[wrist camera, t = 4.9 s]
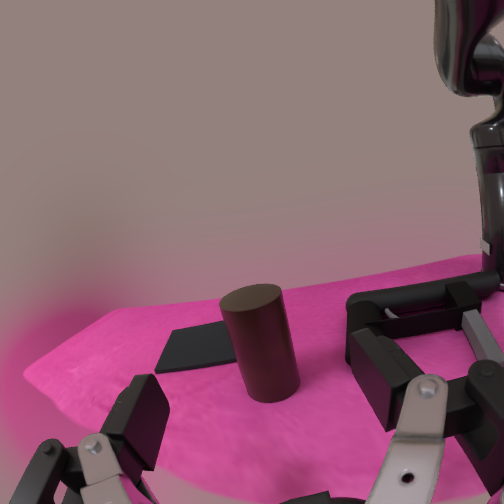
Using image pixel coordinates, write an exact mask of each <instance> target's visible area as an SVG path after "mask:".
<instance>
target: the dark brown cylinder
mask: <svg viewBox="0 0 504 504" xmlns="http://www.w3.org/2000/svg"><path fill="white" fill-rule="evenodd" d="M219 306H220V310H221V313H222V316H223V319H224V323H225V326H226V329H227V332H228V335H229V338H230V341H231V345H232V348H233V351H234V354H235V357H236V360H237V363H238V366H239V369H240V372H241V375H242V377H243V380H244V383H245V386H246V389H247V392H248V394H249V396H250V397H251V398H253V399H254V400H256V401H259V402H264V403H272V402H278V401H281V400H284V399H286V398H288V397H289V396H291V395H292V394H293V393H294V392H295V391H296V390H297V389H298V387H299V384H300V378H299V373H298V368H297V363H296V358H295V353H294V348H293V343H292V338H291V333H290V328H289V324H288V319H287V314H286V309H285V305H284V300H283V295H282V291H281V288H280V287H279V286H277V285H274V284H256V285H251V286H247V287H243V288H240V289H238V290H235V291H233V292H231V293H229V294H227V295H226V296H224V297H223V298H222V299H221V300H220V302H219Z"/></svg>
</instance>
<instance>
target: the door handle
mask: <svg viewBox="0 0 504 504" xmlns="http://www.w3.org/2000/svg"><path fill="white" fill-rule="evenodd" d="M499 288H500V277H499V274H498V272H497V271H496V270H494V271H490V270H486V271H481V272H477V273H472V274H467V275H462V276H457V277H452V278H447V279H441V280H436V281H430V282H424V283H419V284H413V285H406V286H400V287H394V288H387V289H380V290H373V291H369V290H368V291H366V292H359V293H354V294H352V295H351V296H350V297H349V298H348V299H347V302H346V311H347V333H346V353H345V360H346V362H347V364H348V365H350V366H351V358H350V343H349V335H350V333H353V332H356V331H359V330H362V329H365V328H369V329H370V330H371V331H372V333H373V334H374V335H375V336H376V337H379V336H382V335H383V336H385V337H388V338H390V339H398V338H404V337H410V336H416V335H422V334H427V333H433V332H438V331H443V330H448V329H452V328H455V330H456V331H458V330H464V332H465V334H466V336H467V338H468V340H469V342H470V344H471V347H472V349H473V351H474V353H475V355H476V358H477V360H478V361H479V360H483V359H489V360H493V361H496V362H497V363H499V364H500V365H501V366H502V367H503V368H504V354H503V353H502V351H501V349H500V347H499V345H498V344H497V342H496V340H495V338H494V337H493V335H492V333H491V331H490V330H489V328H488V326H487V325H486V323H485V322H484V320H483V318H482V317H481V315H480V312H481V306H482V302H481V300H480V299H479V298H480V297H484V296H488V295H491V294H492V293H494V292H495V291H498V290H499ZM437 306H444V308H445V309H444V310H439V311H434V312H429V313H423V314H417V315H412V316H405V317H398V316H396V315H394V314H397V313H403V312H409V311H415V310H421V309H427V308H432V307H437ZM383 315H387V316H388V318H390V319H385V320H382V319H381V316H383Z"/></svg>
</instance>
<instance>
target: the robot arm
mask: <svg viewBox="0 0 504 504" xmlns="http://www.w3.org/2000/svg"><path fill="white" fill-rule="evenodd" d="M503 21H504V0H435V22H434V55H435V61H436V65H437V69H438V72H439V74H440V77H441V79H442V81H443V82H444V84H445V86H446V87H447V88H448V89H449V90H450V91H451V92H453V93H454V94H456V95H459V96H464V97H488V96H493V100H494V105H495V110H494V112H493V114H492V115H491V116H490V117H488V118H487V119H485V120H484V121H482V122H480V123H478V124H476V125H474V126H473V127H472V128H471V129H470V138H471V143H472V148H473V153H474V158H475V164H476V170H477V176H478V183H479V192H480V202H481V213H482V214H481V215H482V237H483V238H482V239H481V238H480V248H481V249H482V269H481V271H486V270H490V271H494V270H496V271H497V272H498V274H499V277H500V288H499V289H500V290H504V48H503V46H502V45H501V43H500V42H499V41H498V40H497V39H496V38H495V36H493V35H492V34H490V33H489V32H490V31H491V30H493V29H494V28H495V27H497V26H498V25H499V24H501V23H502V22H503ZM349 343H350V358H351V368H352V372H353V375H354V377H355V379H356V381H357V383H358V384H359V386H360V388H361V389H362V391H363V393H364V395H365V396H366V398H367V400H368V402H369V403H370V405H371V407H372V409H373V410H374V412H375V414H376V416H377V417H378V419H379V421H380V423H381V425H382V426H383V428H384V430H385V432H388V431H391V430H393V429H396V431H395V434H394V435H393V437H392V439H391V442H390V445H389V448H388V450H387V453H386V456H385V459H384V461H383V464H382V466H381V469H380V471H379V474H378V476H377V478H376V481H375V483H374V485H373V487H372V490H371V492H370V494H369V496H368V498H367V500H362V499H357V498H348V497H336V498H330V494H329V491H325V492H321V493H317V494H313V495H309V496H304V497H300V498H295V499H290V500H288V501H285V502H283V503H280V504H431V501H432V497H433V494H434V491H435V487H436V483H437V479H438V475H439V471H440V467H441V462H442V458H443V452H444V447H445V438H447V437H451V436H454V437H455V438H456V440H457V441H458V443H459V444H460V446H461V447H462V449H463V451H464V452H465V454H466V455H467V457H468V459H469V460H470V462H471V464H472V465H473V467H474V468H475V470H476V472H477V474H478V475H479V477H480V479H481V480H482V482H483V484H484V486H485V487H486V489H487V491H488V493H489V494H490V496H491V498H490V499H489V501H488V503H487V504H504V368H503V367H502V366H501V365H500V364H499V363H497V362H496V361H493V360H489V359H483V360H479V361H477V362H475V363H473V364H472V365H471V367H470V368H469V371H468V375H467V376H464V377H461V378H457V379H453V380H449V381H445V379H443V378H442V377H440V376H438V375H435V374H425V373H424V372H423V371H422V370H421V369H420V368H419V367H418V366H417V365H416V364H415V362H414V361H413V360H412V359H411V358H410V357H409V356H408V355H407V354H405V352H404V351H403V350H402V349H401V348H400V347H399V346H398V344H397V343H396V342H395V341H394V340H392V339H390V338H388V337H385V336H383V335H382V336H379V337H376V336H375V335H374V334H373V333H372V331H371V330H370V329H369V328H365V329H362V330H359V331H356V332H353V333H350V335H349ZM169 413H170V407H169V402H168V400H167V398H166V396H165V394H164V392H163V391H162V389H161V387H160V385H159V383H158V381H157V379H156V377H155V376H154V375H153V374H143V375H135V376H134V378H133V380H132V381H131V383H130V385H129V387H126V388H125V389H124V390H123V391H122V392H121V393H120V394H119V396H118V397H117V399H116V401H115V404H114V405H113V407H112V411H110V413H109V414H108V416H107V418H106V420H105V422H104V424H103V426H102V428H101V430H100V432H99V433H93V434H90V435H88V436H86V437H84V438H83V439H82V440H81V441H80V443H79V445H78V446H77V447H69V448H65V447H64V446H63V444H62V443H61V442H60V441H59V440H57V439H48V440H46V441H44V442H42V443H41V444H40V445H39V447H38V449H37V450H36V452H35V454H34V456H33V458H32V459H31V461H30V463H29V465H28V467H27V468H26V470H25V472H24V474H23V476H22V478H21V480H20V482H19V484H18V486H17V488H16V490H15V492H14V494H13V496H12V498H11V500H10V503H9V504H55V502H54V498H53V497H54V494H55V491H56V489H57V486H58V484H59V482H60V480H61V481H62V482H63V483H64V484H65V485H66V486H67V487H68V488H67V491H66V493H65V496H64V499H63V502H62V504H159V502H158V501H157V499H156V498H155V496H154V494H153V493H152V491H151V490H150V488H149V486H148V485H147V483H146V481H145V479H144V478H143V477H142V476H141V474H142V470H145V471H154V468H155V464H156V461H157V457H158V453H159V449H160V446H161V442H162V438H163V435H164V431H165V428H166V424H167V421H168V417H169Z"/></svg>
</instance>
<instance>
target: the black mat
mask: <svg viewBox="0 0 504 504" xmlns="http://www.w3.org/2000/svg"><path fill="white" fill-rule="evenodd" d="M232 362H237V360H236V357H235V354H234V351H233V348H232V345H231V341H230V338H229V335H228V332H227V329H226V326H225V323H224V321H219V322H214V323H209V324H204V325H199V326H194V327H188V328H183V329H177V330H173V331H172V333H171V335H170V337H169V339H168V341H167V344H166V346H165V348H164V350H163V352H162V354H161V357H160V359H159V361H158V363H157V366H156V368H155V370H154V371H155V373H165V372H174V371H182V370H189V369H196V368H202V367H209V366H215V365H221V364H226V363H232Z"/></svg>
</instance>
